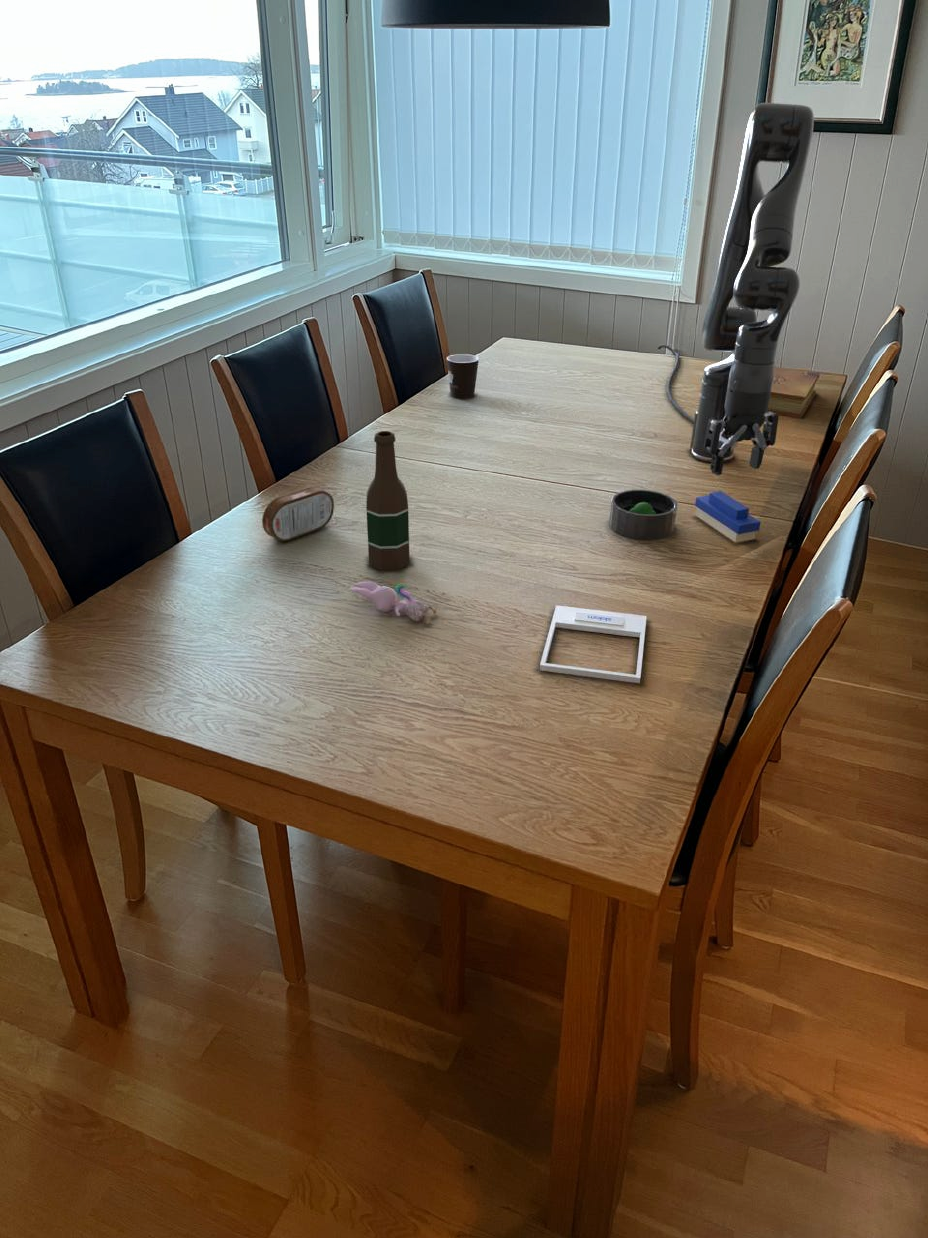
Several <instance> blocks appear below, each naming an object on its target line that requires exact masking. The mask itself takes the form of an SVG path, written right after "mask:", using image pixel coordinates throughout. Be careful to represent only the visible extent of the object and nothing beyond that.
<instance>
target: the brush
mask: <svg viewBox="0 0 928 1238" xmlns="http://www.w3.org/2000/svg"><path fill="white" fill-rule="evenodd" d="M694 503H695V504H694V506H695V507H696V511H695V517H697V518H699V519H700V520H701V521H703V522H705V523H706V524H707V525H709V526H710V527H712V528H713V529H715V530H716V531H718V532H719V533H721V534H722V535H724V536H725V537H727V538H728V539H729V540H731V541H733V542H734V543H741V542H746V541H751V540H755V539H756V534H757V532H758V531H760V528H761V523H762V521H760V520H759V519H757V518H755V517H754V516H752V515H751V514H749V513H750V508H749V507H748V506H746V505H744V504H743V503H741V502H739V501H738V500H736V499H734V498H733V497H731V496H729V495H728V494H726V493H725V492H724V491H722V490H718V491H713V492H709V494H708V495H702V496H696V497H695V502H694Z"/></svg>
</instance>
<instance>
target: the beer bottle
mask: <svg viewBox="0 0 928 1238" xmlns="http://www.w3.org/2000/svg"><path fill="white" fill-rule="evenodd" d="M396 441H397V440H396V434H395V433H394V432H391V431H389V430H382V431H378V432H375V433H374V438H373V442H374V443H375V471H374V477H373V478H372V480H371V482H370V483H369V485H368V488H367V491H366V510H365V511H366V527H367V547H368V549H367V550H368V561H369V565H370V567H372V568H374V569H376V570H379V571H381V572H383V571H385V572H386V571H398V570H399V571H400V570H401V569H403V568H404V567H407V566H409V564H410V524H409V519H410V518H409V501H408V492H407V489H406V486H405V484H404V483H403V482H402V480H401V479H400V477H399V475H398V471H397V462H396V453H395V452H396V451H395V442H396Z"/></svg>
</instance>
